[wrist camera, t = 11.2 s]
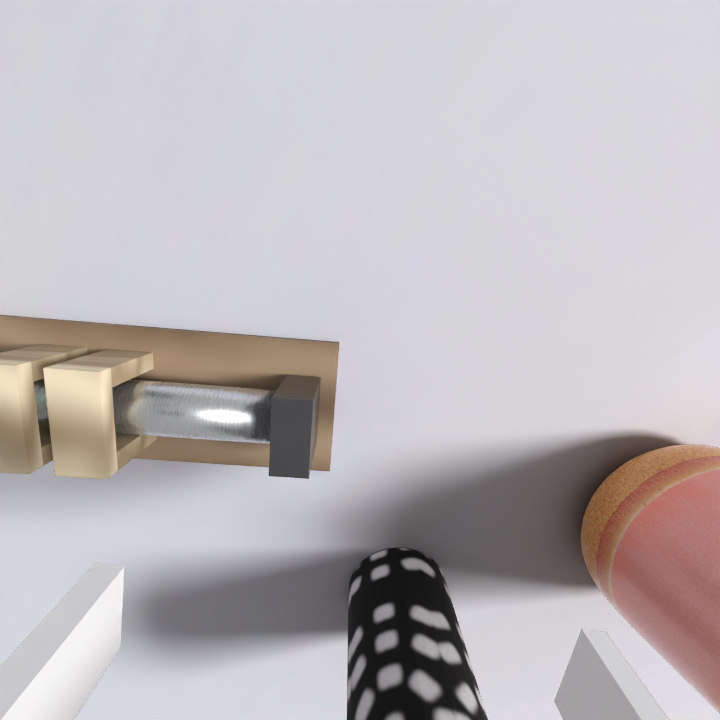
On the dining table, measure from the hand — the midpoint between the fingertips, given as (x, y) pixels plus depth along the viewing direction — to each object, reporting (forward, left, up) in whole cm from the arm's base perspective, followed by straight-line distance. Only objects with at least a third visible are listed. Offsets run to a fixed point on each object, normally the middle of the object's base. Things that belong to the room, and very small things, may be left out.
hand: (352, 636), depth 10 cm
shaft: (0, -12, -16) cm, 21 cm away
